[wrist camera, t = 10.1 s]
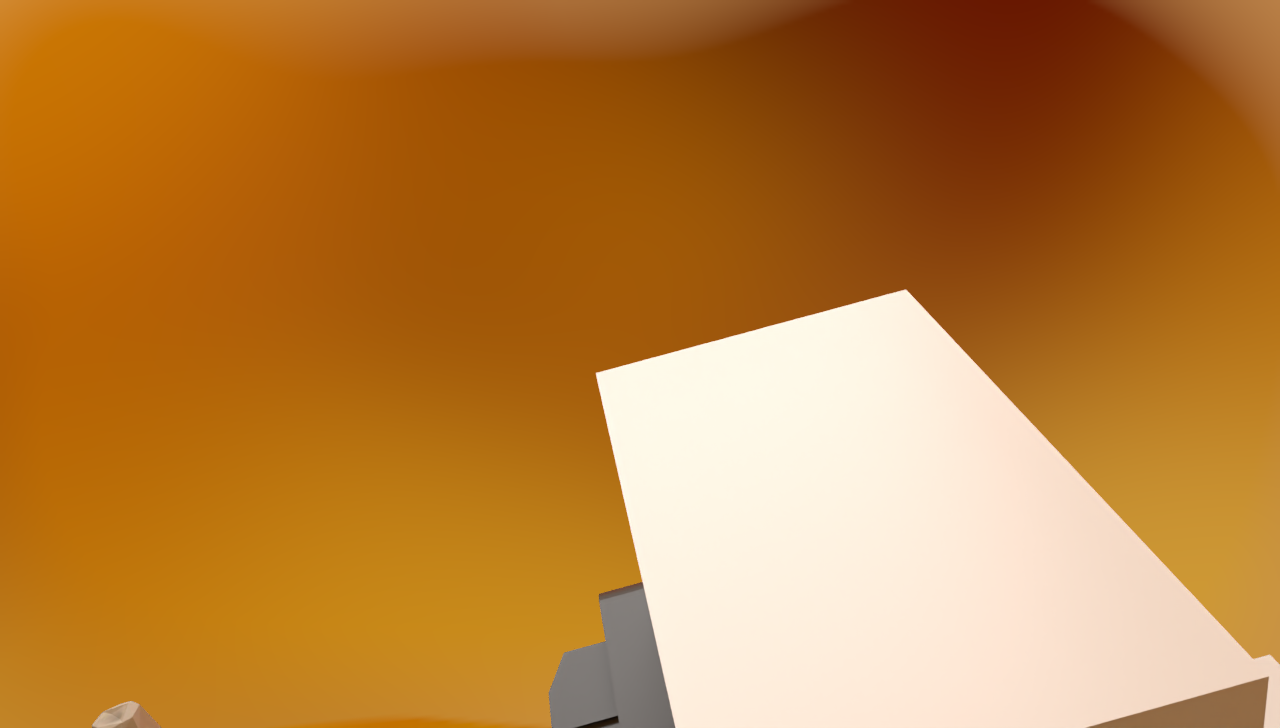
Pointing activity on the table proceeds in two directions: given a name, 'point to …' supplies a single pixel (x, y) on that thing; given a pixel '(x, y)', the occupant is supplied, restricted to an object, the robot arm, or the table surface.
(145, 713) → the beige rock formation
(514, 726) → the table surface
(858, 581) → the slab with upright post
